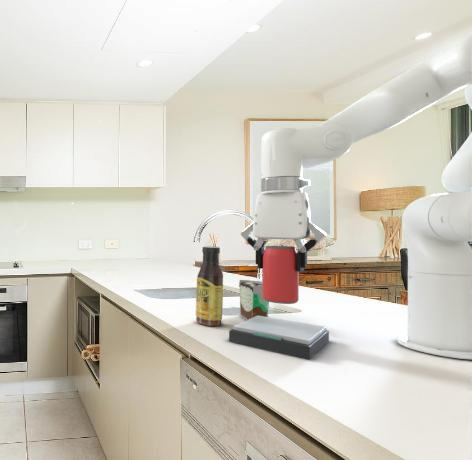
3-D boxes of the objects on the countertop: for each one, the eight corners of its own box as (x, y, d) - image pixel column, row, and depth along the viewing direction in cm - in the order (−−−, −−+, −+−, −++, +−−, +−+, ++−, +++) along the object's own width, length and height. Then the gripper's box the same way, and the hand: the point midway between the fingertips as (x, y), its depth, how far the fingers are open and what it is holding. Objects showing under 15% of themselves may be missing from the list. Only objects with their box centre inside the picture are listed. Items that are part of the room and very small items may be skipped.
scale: (256, 327, 88) (256, 314, 88) (328, 341, 77) (329, 326, 77) (228, 341, 77) (229, 326, 77) (309, 359, 66) (309, 342, 66)
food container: (280, 326, 89) (281, 286, 89) (253, 325, 90) (254, 285, 90) (262, 315, 101) (262, 280, 101) (238, 314, 102) (238, 279, 102)
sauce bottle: (191, 320, 94) (191, 245, 94) (213, 320, 95) (214, 246, 95) (204, 327, 88) (205, 247, 88) (228, 327, 88) (228, 247, 88)
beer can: (261, 302, 76) (261, 246, 76) (263, 297, 82) (263, 245, 82) (298, 306, 73) (298, 247, 73) (298, 300, 78) (298, 246, 78)
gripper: (334, 185, 73) (334, 272, 73) (244, 191, 86) (244, 265, 86) (326, 181, 68) (325, 274, 68) (232, 189, 81) (231, 267, 81)
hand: (280, 268), depth 77 cm, fingers closed on beer can, 6 cm apart
